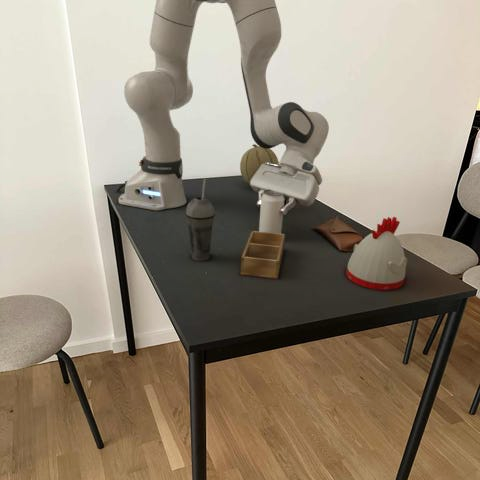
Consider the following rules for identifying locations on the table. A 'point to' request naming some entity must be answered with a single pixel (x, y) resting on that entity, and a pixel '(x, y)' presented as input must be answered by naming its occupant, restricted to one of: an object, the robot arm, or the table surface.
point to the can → (271, 212)
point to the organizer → (263, 254)
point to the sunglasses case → (340, 234)
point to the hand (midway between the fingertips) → (270, 209)
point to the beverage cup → (200, 226)
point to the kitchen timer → (379, 259)
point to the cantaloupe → (255, 161)
